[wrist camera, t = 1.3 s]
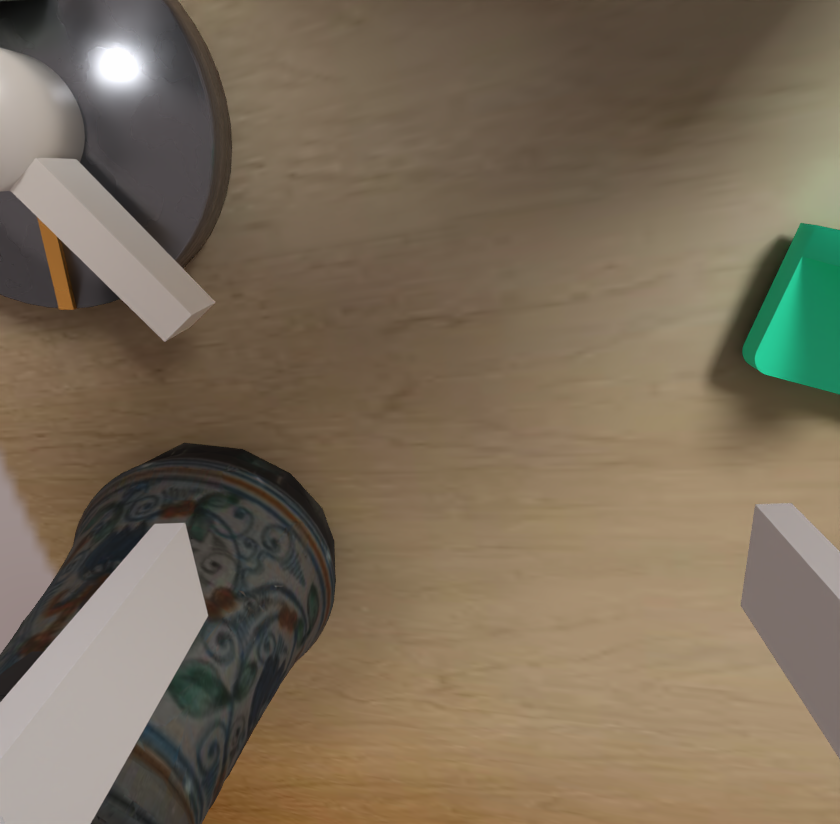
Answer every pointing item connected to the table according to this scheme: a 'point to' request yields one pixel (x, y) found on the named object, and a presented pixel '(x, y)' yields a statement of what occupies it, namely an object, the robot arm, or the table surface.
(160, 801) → the beer stein
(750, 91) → the table surface
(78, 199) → the knob
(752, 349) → the camera mount
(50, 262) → the base
